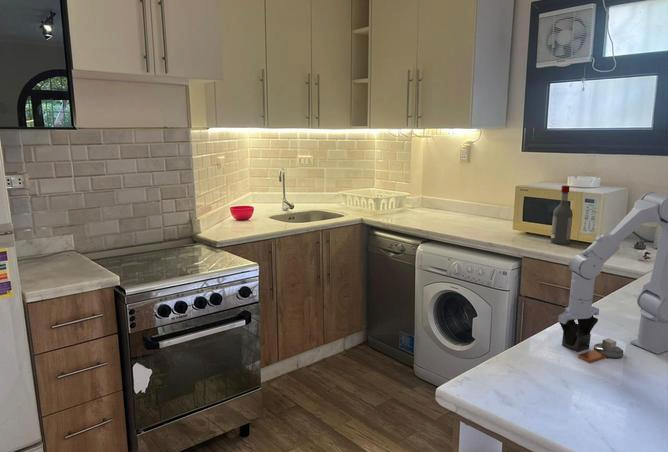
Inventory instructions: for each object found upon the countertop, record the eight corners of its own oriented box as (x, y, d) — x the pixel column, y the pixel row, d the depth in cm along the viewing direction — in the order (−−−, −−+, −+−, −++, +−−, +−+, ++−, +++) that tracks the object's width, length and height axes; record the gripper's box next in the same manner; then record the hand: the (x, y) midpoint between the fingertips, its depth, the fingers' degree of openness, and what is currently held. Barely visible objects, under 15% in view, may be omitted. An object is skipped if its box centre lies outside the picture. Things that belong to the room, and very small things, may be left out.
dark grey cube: (573, 341, 144) (575, 327, 143) (589, 348, 140) (590, 333, 139) (561, 345, 142) (563, 330, 141) (577, 352, 137) (578, 337, 136)
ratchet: (604, 345, 142) (605, 333, 141) (628, 355, 136) (630, 343, 135) (572, 355, 136) (573, 342, 135) (596, 366, 130) (598, 353, 129)
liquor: (569, 241, 262) (575, 185, 256) (569, 245, 254) (575, 187, 248) (550, 239, 266) (556, 184, 259) (550, 243, 258) (555, 186, 251)
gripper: (585, 288, 144) (580, 332, 147) (550, 296, 138) (546, 341, 141) (608, 296, 138) (602, 341, 141) (573, 304, 132) (567, 351, 134)
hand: (575, 342), depth 140 cm, fingers closed on dark grey cube, 5 cm apart
